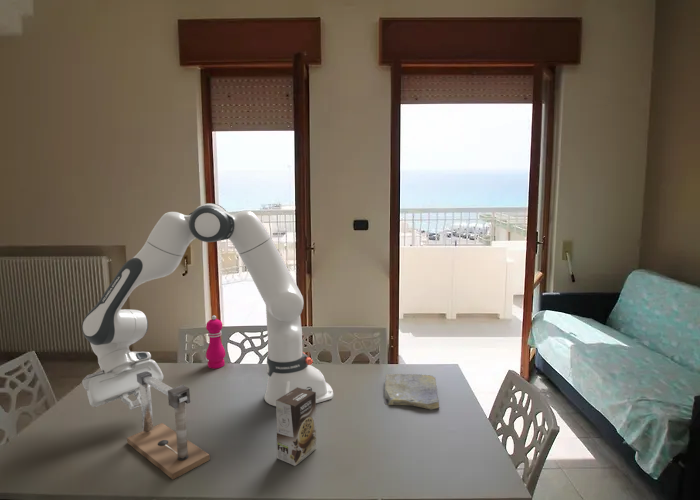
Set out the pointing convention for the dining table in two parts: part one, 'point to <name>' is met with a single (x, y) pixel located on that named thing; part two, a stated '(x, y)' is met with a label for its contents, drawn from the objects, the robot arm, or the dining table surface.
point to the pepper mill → (215, 344)
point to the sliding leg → (145, 393)
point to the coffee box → (296, 425)
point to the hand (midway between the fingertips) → (136, 407)
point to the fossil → (411, 390)
